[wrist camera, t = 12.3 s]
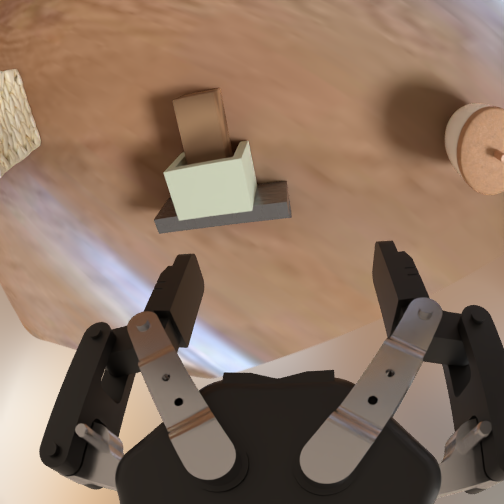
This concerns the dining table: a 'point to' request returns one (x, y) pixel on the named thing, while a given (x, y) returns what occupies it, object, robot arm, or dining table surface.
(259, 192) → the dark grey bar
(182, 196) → the sage block
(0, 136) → the storage basket
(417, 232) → the dining table surface
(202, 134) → the walnut block
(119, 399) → the robot arm
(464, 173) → the lidded jar
